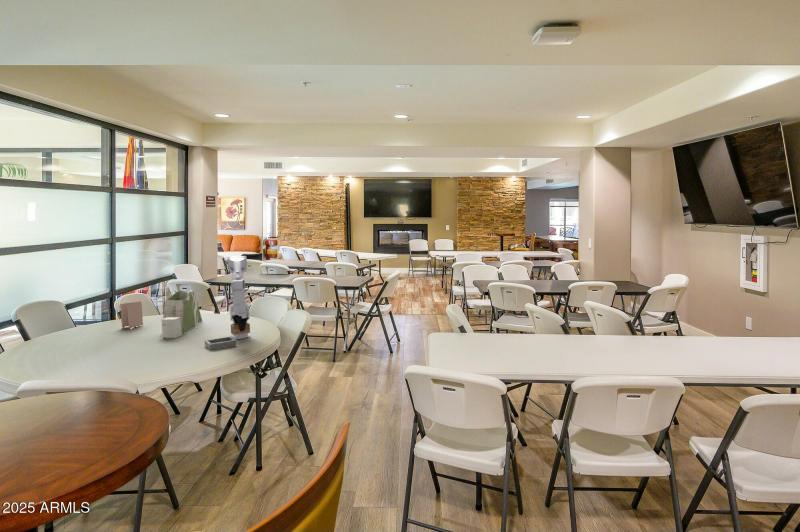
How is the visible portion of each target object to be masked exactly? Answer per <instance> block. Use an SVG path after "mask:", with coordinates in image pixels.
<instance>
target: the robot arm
mask: <svg viewBox="0 0 800 532" xmlns="http://www.w3.org/2000/svg"><path fill="white" fill-rule="evenodd" d="M227 268H228V271H229V273H231V282H230V286H231V293H232V305H231V306H230V309H229V312H230V313H229V314H230V316H229V317H230V321H231V322H232V324H237V323H238V325H239V330H240V332H241V331H245V326H246V322H247V323H248V321H249V320H250V319H251V318H250V316H251V315H250V306H249V305H248V304H247V303H246V296H245V295H246V294H245V290H246V280H245V278H244V277H245V276H244V275H245V274H244V273H246V272H247V269H248V260H247V256H246V255H241V256H240V255H238V256H237V255H235V256H231V255H230V256H227ZM230 336H231V337H232V338H234V339H235V340H240V339H247V338H246V337H248V338H251V335H249V333H245V334H238V335H233V334H231V335H230Z"/></svg>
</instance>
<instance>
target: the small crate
mask: <svg viewBox="0 0 800 532" xmlns="http://www.w3.org/2000/svg"><path fill="white" fill-rule="evenodd" d="M230 333H231V335H238V334H245V333H248V334H250V333H251V324H250V323H249V322H248V321H247V322H246V326H245V331H241V332H240V330H239V325H238V323H237V324H233V323H231V324H230Z"/></svg>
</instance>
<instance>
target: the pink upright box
mask: <svg viewBox="0 0 800 532" xmlns="http://www.w3.org/2000/svg"><path fill="white" fill-rule="evenodd" d="M142 306H143V305H142V300H141V301H134V302H125V303H120V316H121V317H120V318H121V319H120V320H121V328H122V327H125V326H129V328H132V327H136V326H140V325H143V326H144V320H143V307H142ZM140 327H141V326H140ZM129 328H128V329H129Z"/></svg>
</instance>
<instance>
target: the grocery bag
mask: <svg viewBox="0 0 800 532" xmlns="http://www.w3.org/2000/svg"><path fill="white" fill-rule="evenodd" d="M173 292H175V293H174V294H173ZM199 307H200V306H199V302H198V297H197V291H196V290H192V289H190V290H188V291H183V290H178V291H177V289H176V288H174V289H172V291H171V292H170V295H169V297H168V298H166V299H165V303H164V307H163V316H162V319H164V318H167V317H180V321H181V333H182V332H186V333H188V332H189V331H191V330H192V329H194V328H196V327H197V326H198V325H199V324H200V323H201V322H202V321H203V318H202V314H201V311H200V308H199ZM199 322H200V323H199ZM196 325H197V326H196ZM195 326H196V327H195ZM193 327H194V328H193ZM191 328H192V329H191ZM188 330H189V331H188ZM182 334H183V333H182Z"/></svg>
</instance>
